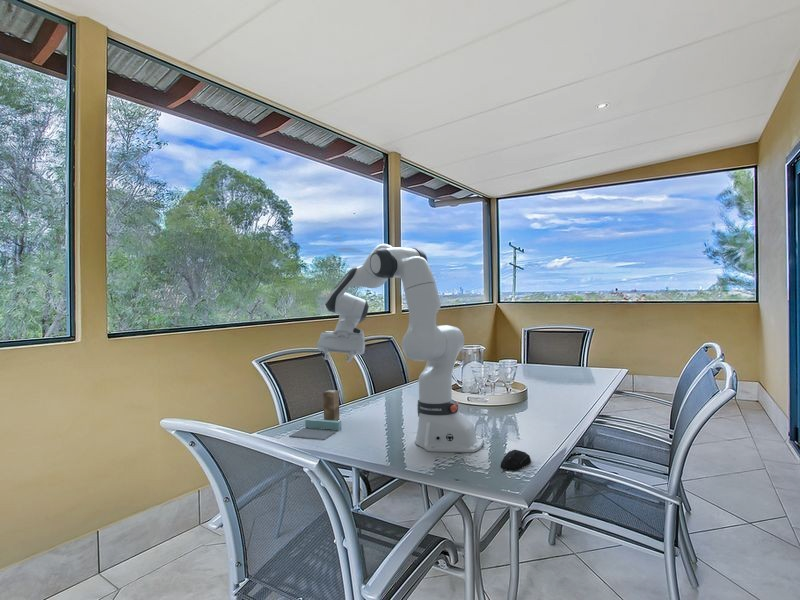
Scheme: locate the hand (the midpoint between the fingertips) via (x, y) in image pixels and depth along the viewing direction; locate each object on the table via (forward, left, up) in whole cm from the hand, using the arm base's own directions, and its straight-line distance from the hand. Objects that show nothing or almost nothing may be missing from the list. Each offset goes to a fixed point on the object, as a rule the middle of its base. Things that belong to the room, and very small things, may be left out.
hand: (337, 360), depth 187 cm
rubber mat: (-2, +25, -23) cm, 34 cm away
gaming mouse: (-74, +35, -24) cm, 85 cm away
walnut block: (-1, +8, -23) cm, 25 cm away
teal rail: (-2, +17, -23) cm, 29 cm away
